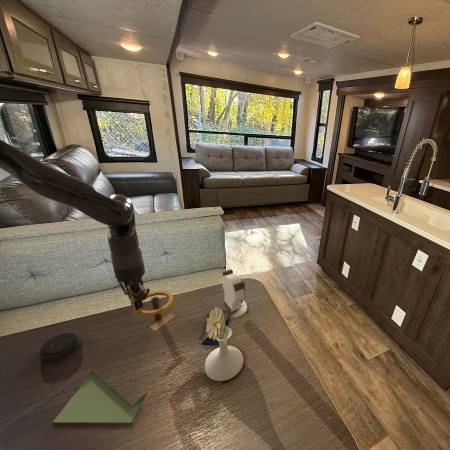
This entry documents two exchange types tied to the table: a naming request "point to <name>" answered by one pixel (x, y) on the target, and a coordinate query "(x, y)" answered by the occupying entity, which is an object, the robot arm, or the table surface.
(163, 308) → the orange ring with tab
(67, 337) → the smart speaker
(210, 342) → the cell phone
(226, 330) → the flower in vase
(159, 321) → the stand
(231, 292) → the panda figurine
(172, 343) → the table surface
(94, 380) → the olive green flat piece
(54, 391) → the table surface
